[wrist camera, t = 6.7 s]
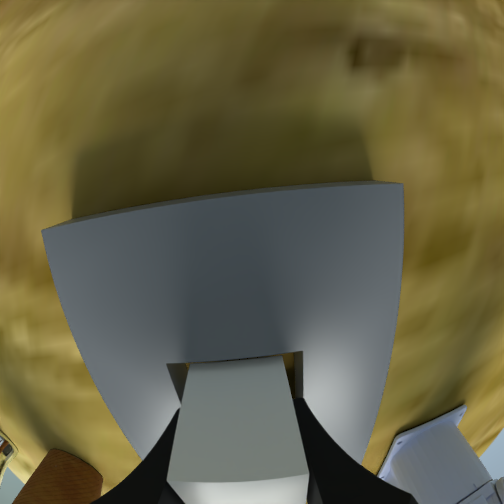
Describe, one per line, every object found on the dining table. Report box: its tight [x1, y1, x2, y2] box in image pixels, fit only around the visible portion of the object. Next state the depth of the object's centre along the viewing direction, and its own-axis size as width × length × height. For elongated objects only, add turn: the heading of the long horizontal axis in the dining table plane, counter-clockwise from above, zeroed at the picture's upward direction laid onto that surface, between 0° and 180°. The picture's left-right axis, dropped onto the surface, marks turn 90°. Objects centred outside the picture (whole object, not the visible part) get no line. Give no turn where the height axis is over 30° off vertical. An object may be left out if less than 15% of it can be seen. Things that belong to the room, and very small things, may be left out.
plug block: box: [167, 355, 309, 504], centre depth 9 cm, size 4×4×6 cm
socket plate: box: [41, 180, 404, 465], centre depth 13 cm, size 18×14×2 cm
